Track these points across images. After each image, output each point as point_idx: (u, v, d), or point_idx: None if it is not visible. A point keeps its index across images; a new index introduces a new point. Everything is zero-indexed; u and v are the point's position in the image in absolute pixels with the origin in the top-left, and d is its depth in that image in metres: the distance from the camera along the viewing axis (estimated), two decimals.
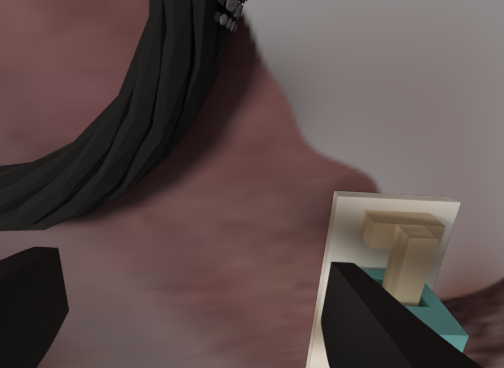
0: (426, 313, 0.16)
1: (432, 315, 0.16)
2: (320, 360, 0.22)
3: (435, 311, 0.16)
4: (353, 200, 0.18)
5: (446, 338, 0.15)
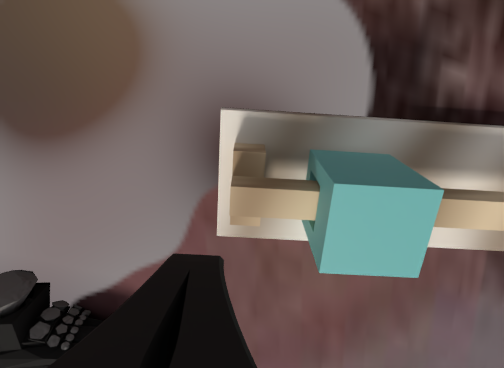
0: (321, 201, 0.13)
1: (322, 196, 0.13)
2: (436, 236, 0.18)
3: (322, 186, 0.13)
4: (221, 221, 0.18)
5: (335, 209, 0.12)
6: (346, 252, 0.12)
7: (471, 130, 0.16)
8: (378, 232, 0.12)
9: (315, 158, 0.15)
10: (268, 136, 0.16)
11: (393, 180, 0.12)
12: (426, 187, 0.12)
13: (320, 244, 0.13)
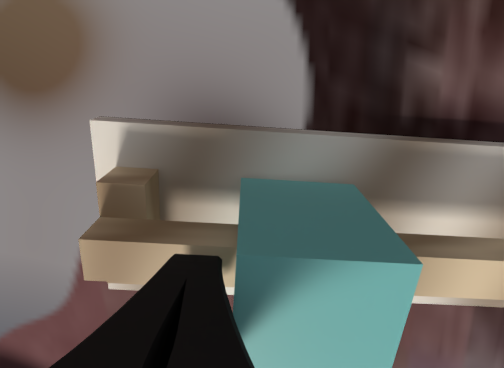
0: None
1: None
2: None
3: None
4: None
5: (243, 293, 0.07)
6: (268, 355, 0.08)
7: (449, 149, 0.11)
8: (317, 328, 0.07)
9: (240, 194, 0.10)
10: (162, 157, 0.11)
11: (343, 243, 0.07)
12: (393, 258, 0.07)
13: None
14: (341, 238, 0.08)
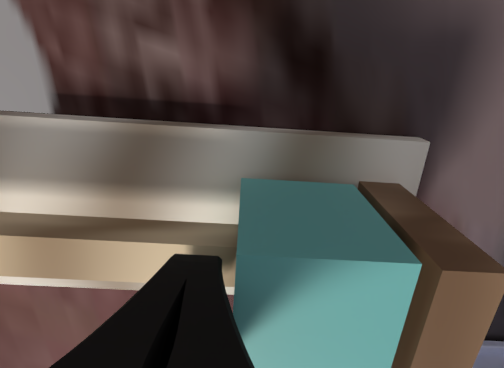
0: None
1: None
2: None
3: None
4: None
5: (243, 293, 0.07)
6: (268, 355, 0.08)
7: (189, 133, 0.11)
8: (317, 327, 0.07)
9: (240, 195, 0.10)
10: None
11: (342, 243, 0.07)
12: (392, 258, 0.07)
13: None
14: (340, 238, 0.08)
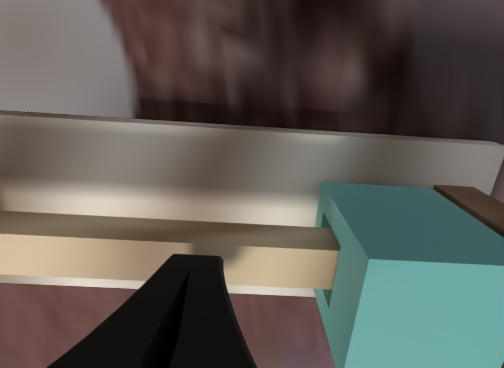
0: (342, 270, 0.09)
1: (345, 265, 0.08)
2: None
3: (344, 249, 0.09)
4: None
5: (369, 296, 0.07)
6: (383, 356, 0.08)
7: (271, 137, 0.11)
8: (435, 329, 0.08)
9: (331, 198, 0.10)
10: None
11: (460, 247, 0.08)
12: None
13: (342, 339, 0.08)
14: (455, 242, 0.08)
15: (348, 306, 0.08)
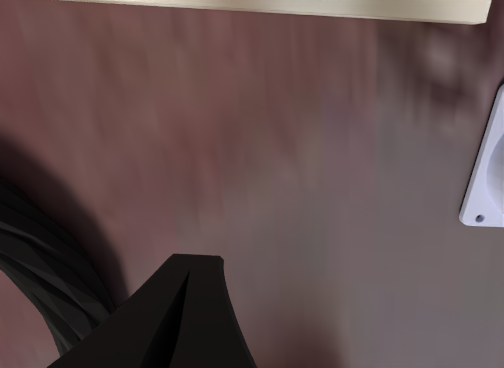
0: None
1: None
2: None
3: None
4: None
5: None
6: None
7: None
8: None
9: None
10: None
11: None
12: None
13: None
14: None
15: None
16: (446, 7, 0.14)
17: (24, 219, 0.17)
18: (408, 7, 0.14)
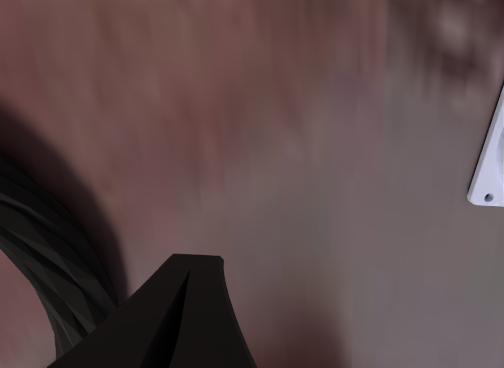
0: None
1: None
2: None
3: None
4: None
5: None
6: None
7: None
8: None
9: None
10: None
11: None
12: None
13: None
14: None
15: None
16: None
17: (19, 189, 0.16)
18: None
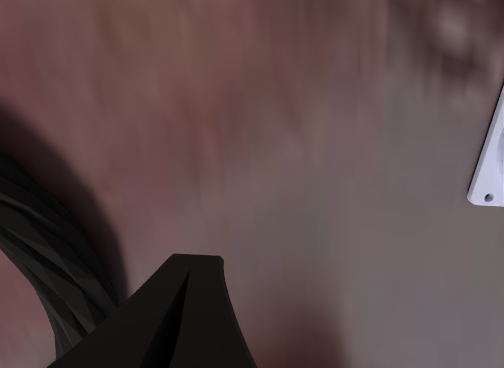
0: None
1: None
2: None
3: None
4: None
5: None
6: None
7: None
8: None
9: None
10: None
11: None
12: None
13: None
14: None
15: None
16: None
17: (19, 189, 0.16)
18: None
